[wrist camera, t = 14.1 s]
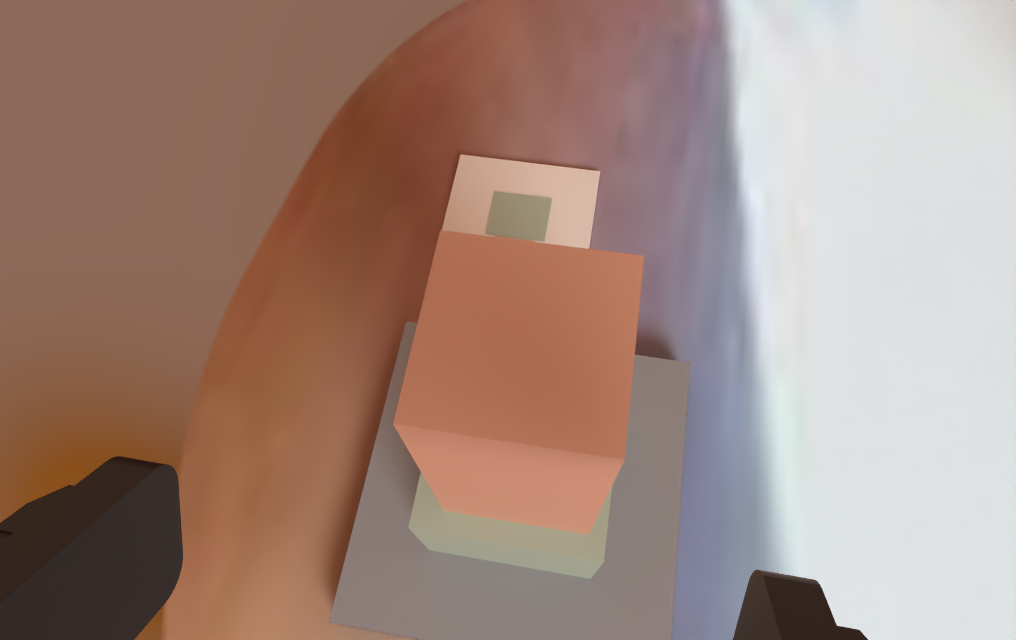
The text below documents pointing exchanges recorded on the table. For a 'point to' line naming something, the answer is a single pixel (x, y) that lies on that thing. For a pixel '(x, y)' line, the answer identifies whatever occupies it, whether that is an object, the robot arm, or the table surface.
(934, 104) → the table surface
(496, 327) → the terracotta brick
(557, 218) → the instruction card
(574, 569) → the sage brick
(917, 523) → the table surface
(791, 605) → the robot arm
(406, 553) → the base plate
